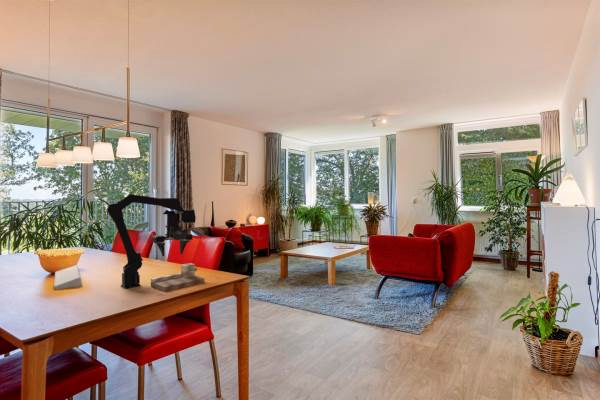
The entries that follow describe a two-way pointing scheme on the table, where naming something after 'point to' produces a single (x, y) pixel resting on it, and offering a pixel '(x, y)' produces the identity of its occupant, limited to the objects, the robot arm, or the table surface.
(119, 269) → the table surface
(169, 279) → the board
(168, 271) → the table surface
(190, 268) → the ball-top joystick
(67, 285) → the white wedge doorstop
